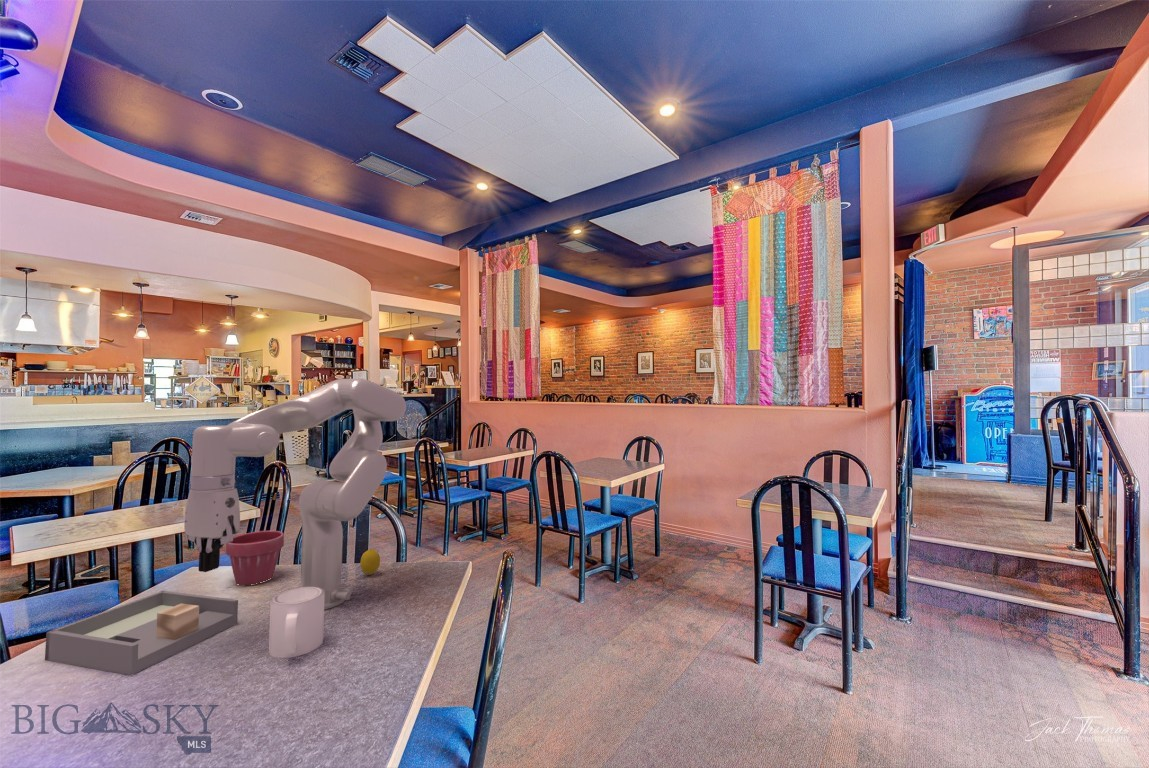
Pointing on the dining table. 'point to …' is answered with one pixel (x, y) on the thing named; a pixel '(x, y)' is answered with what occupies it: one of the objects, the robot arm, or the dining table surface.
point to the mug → (296, 621)
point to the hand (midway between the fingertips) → (208, 569)
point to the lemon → (370, 561)
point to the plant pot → (254, 556)
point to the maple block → (177, 621)
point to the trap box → (135, 633)
